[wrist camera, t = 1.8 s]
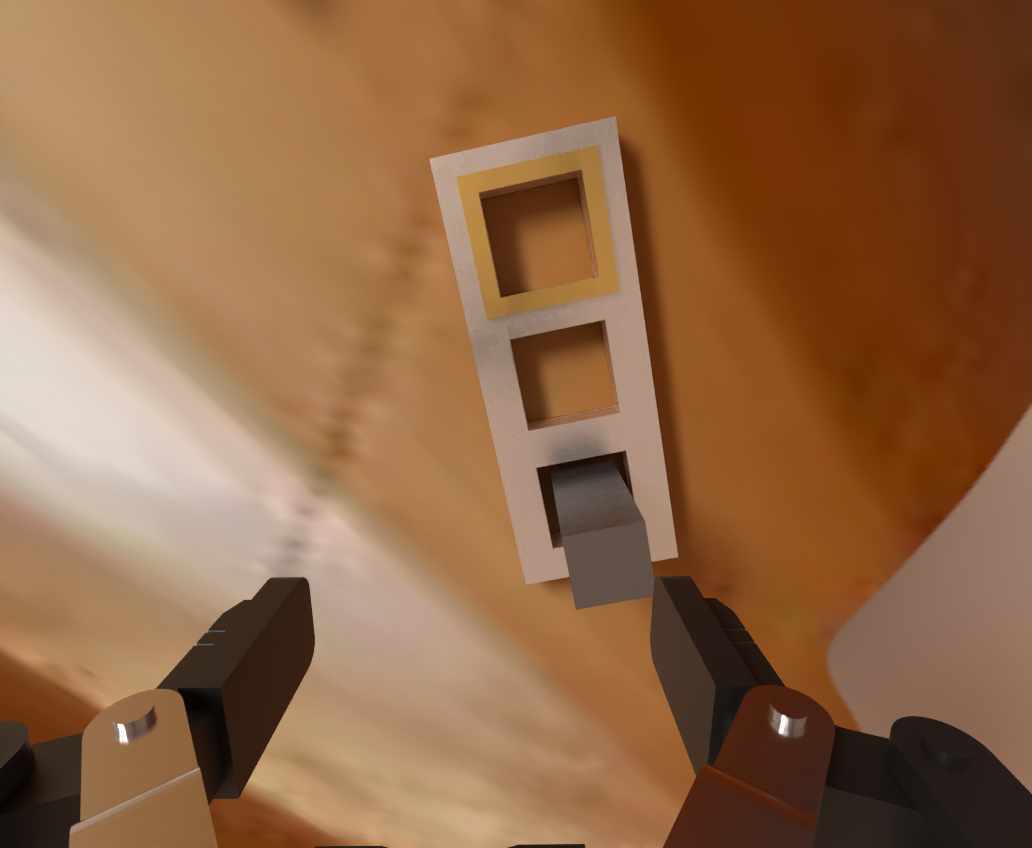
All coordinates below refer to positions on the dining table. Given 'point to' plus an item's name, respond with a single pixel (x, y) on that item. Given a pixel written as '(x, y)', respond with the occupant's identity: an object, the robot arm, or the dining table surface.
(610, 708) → the dining table surface
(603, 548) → the peg
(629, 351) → the rail
